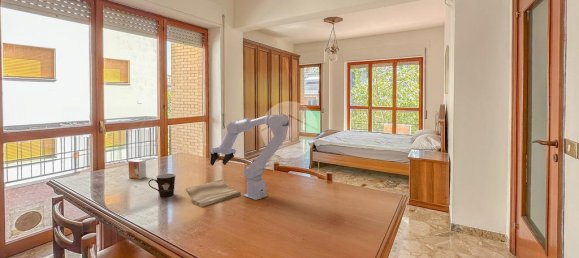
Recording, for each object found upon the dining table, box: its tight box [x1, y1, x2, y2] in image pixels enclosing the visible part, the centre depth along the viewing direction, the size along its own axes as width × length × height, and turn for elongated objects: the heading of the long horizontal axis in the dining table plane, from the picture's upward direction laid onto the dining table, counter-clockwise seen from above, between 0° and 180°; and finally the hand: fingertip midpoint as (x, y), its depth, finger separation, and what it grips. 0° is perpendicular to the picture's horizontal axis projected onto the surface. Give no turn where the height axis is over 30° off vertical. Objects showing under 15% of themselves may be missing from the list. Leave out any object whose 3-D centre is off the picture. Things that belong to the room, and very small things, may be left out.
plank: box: [185, 179, 230, 201], centre depth 145 cm, size 8×20×2 cm
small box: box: [128, 159, 147, 180], centre depth 179 cm, size 8×6×10 cm
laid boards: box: [192, 188, 242, 208], centre depth 140 cm, size 7×22×2 cm, turn 137°
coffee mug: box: [147, 173, 176, 198], centre depth 145 cm, size 12×9×10 cm
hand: (217, 164), depth 153 cm, fingers open, 7 cm apart
